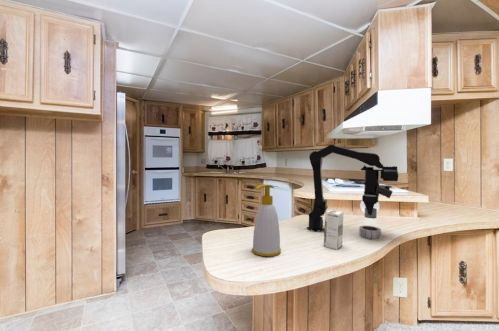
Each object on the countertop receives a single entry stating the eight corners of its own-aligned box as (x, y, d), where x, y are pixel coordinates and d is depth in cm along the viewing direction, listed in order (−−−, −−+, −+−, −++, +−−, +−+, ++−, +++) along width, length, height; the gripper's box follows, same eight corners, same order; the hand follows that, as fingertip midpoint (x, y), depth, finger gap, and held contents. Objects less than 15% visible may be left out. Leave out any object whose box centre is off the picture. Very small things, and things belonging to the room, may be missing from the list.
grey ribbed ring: (371, 240, 107) (372, 232, 107) (355, 234, 115) (355, 226, 115) (384, 238, 111) (385, 229, 111) (368, 232, 119) (368, 224, 119)
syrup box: (328, 242, 104) (329, 209, 104) (342, 246, 101) (343, 211, 100) (323, 246, 100) (324, 211, 99) (337, 250, 96) (338, 214, 95)
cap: (371, 218, 109) (371, 210, 109) (362, 216, 114) (362, 207, 114) (378, 217, 111) (379, 209, 111) (369, 215, 116) (369, 207, 116)
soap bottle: (245, 251, 94) (246, 184, 93) (265, 243, 102) (266, 182, 101) (267, 260, 86) (268, 187, 85) (286, 251, 94) (287, 184, 93)
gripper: (392, 183, 100) (391, 221, 100) (391, 179, 116) (389, 211, 117) (362, 181, 105) (361, 217, 106) (365, 178, 121) (364, 209, 122)
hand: (370, 213), depth 113 cm, fingers closed on cap, 5 cm apart
